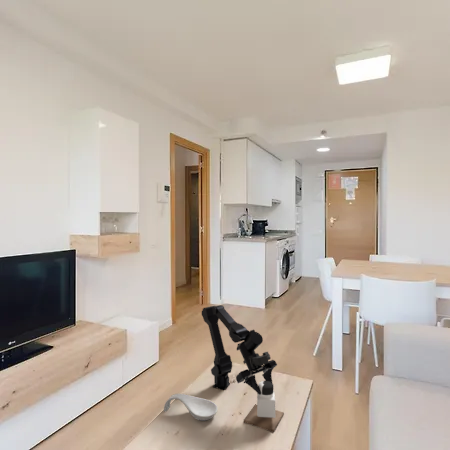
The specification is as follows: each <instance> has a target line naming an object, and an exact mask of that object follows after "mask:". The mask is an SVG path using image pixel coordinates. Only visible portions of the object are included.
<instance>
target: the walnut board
mask: <svg viewBox="0 0 450 450" xmlns="http://www.w3.org/2000/svg"><path fill="white" fill-rule="evenodd" d="M284 415H285V413H284V411H280V410H277V409H275V418H271V417H258V416H257V403H256V404H254V405H253V406H252V408H251V409H250V410H249V412H248V413H247V415H246V416H245V417H244V419H243V423H245V424H248V425H251V426H254V427H257V428H260V429H264V430H266V431H268V432H269V431H270V432H272V433H275V431H276V430H277V428H278V426H279V424H280V422H281V421H282V419H283V418H284Z"/></svg>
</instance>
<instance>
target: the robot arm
mask: <svg viewBox="0 0 450 450" xmlns="http://www.w3.org/2000/svg"><path fill="white" fill-rule="evenodd" d="M201 316H202V319H203V321H204V322H205V324H207V325H208V330H209V334H210V338H211V341H212V345H213V351H214V360H213V367H212V368H210V372H211V375H212V376H213V377H214V379H213V380H214V384H213V385H212V388H215V389H218V390H222V391H225V390H226V389H227V388H228V387H229V386H230V385H231V383H230V376H229V374H230V373H232V370H233V361H232V359H231V355H230V354H227V353H226V350H225V347H224V343H223V339H222V335H221V330H220V326H219V323H218V322H219V320H220V322H221V323H222V324H223V325H224V327H225V328H226V329H227V330H228V335H229V337H230V340H231V341H232V342H233V343H237V346H236V351H239V352H240V354H241V356H242V359H243V364H244V365H246V367H247V369H243V370H241V371H240V372H238V374H237V375H236V377H235V380H236V382H237V384H240V383H243V384H246V385H247V386H249V387H250V388H251V389H253V391H255V393H258V394H259V395H260V394H261V391H260V388H259V386H258V384H259V383H257V382H258V381H257V379H256V374H259V373H261V372H262V377H263V379H264V381H270V382H271V383H272V384H273V385H274V383H273V378H272V377H273V376H272V373H273V370H274V369H275V368H276V367H277V366H278V363H277V361H276V360H275V359H271V355H270V353H269V351H264V352H263V353H262V355H259V353H258V352H256V351H255V350H256V349H258V348H259V346H261V344H263V341H264V340H263V339H264V338H263V336H262V335H261V334H260V333H259V332H258V331H255V329H251V330H249V329H247V328H246V327H245V326H244V325H243V324H242V323H239V322H236V320H235V319H234V318H233V317H232V316H231V315H230V313H228V311H227V310H226V309H225V307H224V305H222V304H219V305H210V306H206V307H203V308H202V310H201Z"/></svg>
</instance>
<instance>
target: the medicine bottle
mask: <svg viewBox="0 0 450 450" xmlns="http://www.w3.org/2000/svg"><path fill="white" fill-rule="evenodd" d="M272 383H273V382H272ZM272 383H271V382H270V381H265V380H262V381H260V382H258V383H257V384H258V386H259V388H260V391H261V394H260V395H259V394H258V393H257V392H256V393H257V394H256V399H257V400H256V402H257V403H256V405H257V416H258V417H271V418H275V410H276V395H275V390H274V383H273V384H272Z"/></svg>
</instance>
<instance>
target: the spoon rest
mask: <svg viewBox="0 0 450 450" xmlns="http://www.w3.org/2000/svg"><path fill="white" fill-rule="evenodd" d="M173 400H178V401H180V402H182V404H183V405H184V407H186V409H187V410H188V412H189V413H190V415H191V416H192V417H193V418H194V419H195V420H198V421H209V420H210V419H212V418H213V417H214V416H215V415H216V414H217V413H218V410H219V409H218V405H217V404H216V403H215V402H213V401H212V400H210V399H207V398H206V399H205V398H203V397H197V396H193V395H189V394H185V393H175V394H172V395H170V396H169V398H168V399H167V400H166V401H165V402H164V405H163V412H167V411H168V409H170V407H171V401H173Z"/></svg>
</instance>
